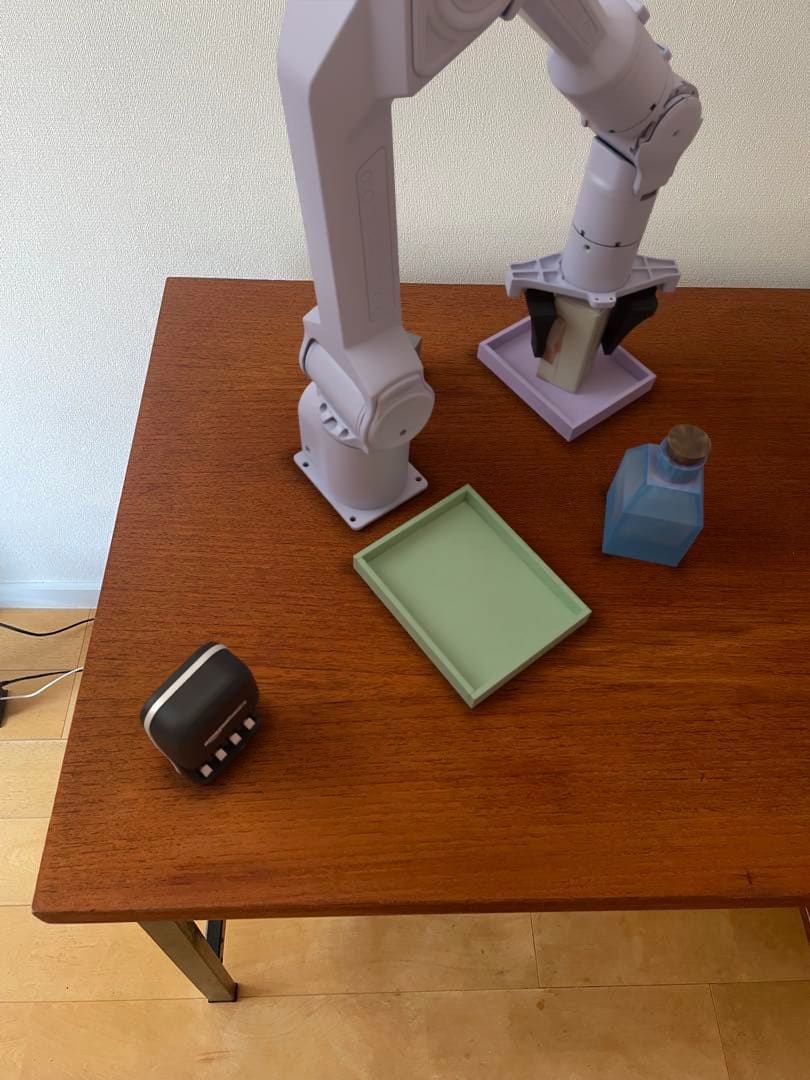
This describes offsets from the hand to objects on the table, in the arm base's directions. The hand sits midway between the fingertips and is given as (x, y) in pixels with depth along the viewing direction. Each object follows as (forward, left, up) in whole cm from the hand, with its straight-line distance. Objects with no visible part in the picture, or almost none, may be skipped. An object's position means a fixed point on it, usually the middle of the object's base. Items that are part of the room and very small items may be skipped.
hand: (570, 348), depth 75 cm
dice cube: (-9, -15, -3) cm, 18 cm away
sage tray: (+13, -23, -3) cm, 27 cm away
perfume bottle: (+17, -7, -3) cm, 19 cm away
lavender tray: (0, 0, -3) cm, 3 cm away
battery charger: (+12, -45, -3) cm, 47 cm away
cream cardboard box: (0, 0, -3) cm, 3 cm away
